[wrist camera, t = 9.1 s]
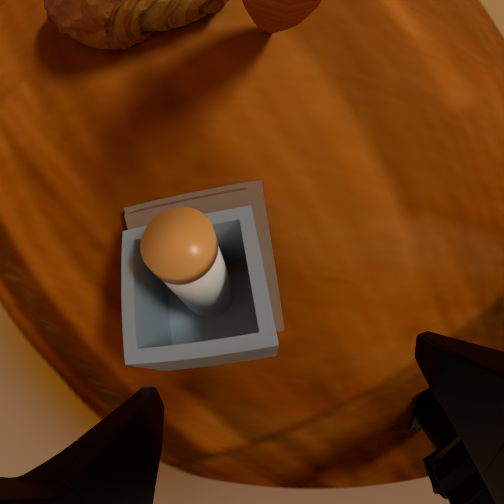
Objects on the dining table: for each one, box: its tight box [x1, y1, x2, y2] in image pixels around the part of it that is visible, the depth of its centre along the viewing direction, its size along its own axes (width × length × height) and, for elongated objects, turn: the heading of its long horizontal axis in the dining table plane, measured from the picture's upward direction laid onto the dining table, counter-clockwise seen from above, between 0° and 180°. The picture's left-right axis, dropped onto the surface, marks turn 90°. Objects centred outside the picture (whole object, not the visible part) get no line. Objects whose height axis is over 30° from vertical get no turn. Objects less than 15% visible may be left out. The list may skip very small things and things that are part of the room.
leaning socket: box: [121, 180, 285, 371], centre depth 16 cm, size 11×9×9 cm
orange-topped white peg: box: [140, 207, 234, 317], centre depth 15 cm, size 3×3×7 cm
